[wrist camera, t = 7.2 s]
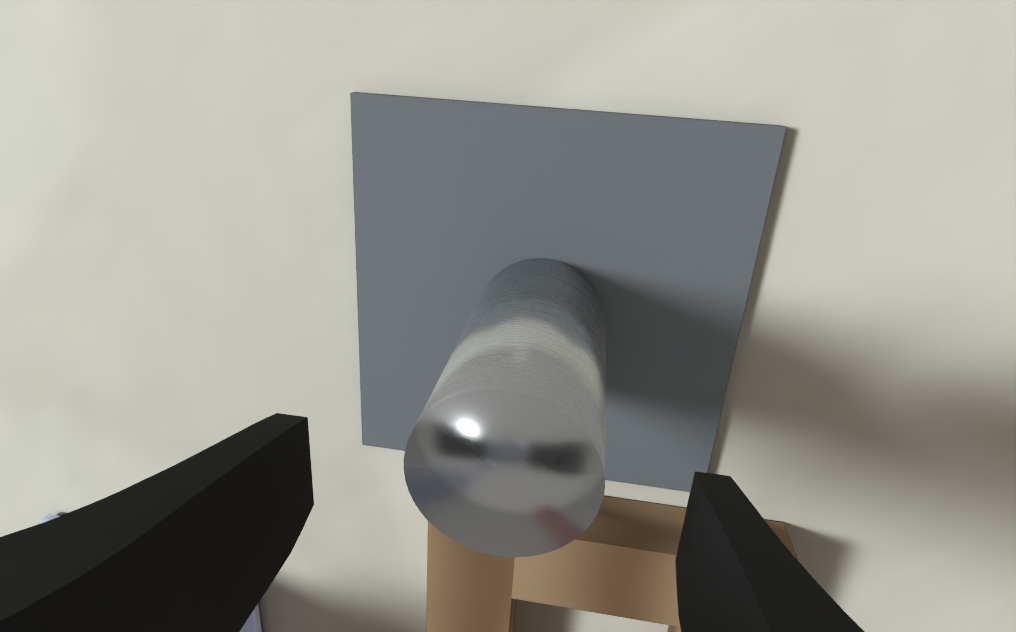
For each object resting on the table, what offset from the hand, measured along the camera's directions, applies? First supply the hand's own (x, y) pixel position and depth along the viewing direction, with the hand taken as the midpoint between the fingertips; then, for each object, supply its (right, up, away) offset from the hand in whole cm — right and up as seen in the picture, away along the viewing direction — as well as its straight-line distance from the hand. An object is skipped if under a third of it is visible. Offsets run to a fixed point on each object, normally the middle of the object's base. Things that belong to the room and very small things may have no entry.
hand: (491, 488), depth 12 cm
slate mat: (+1, +3, +8) cm, 9 cm away
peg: (+1, +3, +8) cm, 9 cm away
